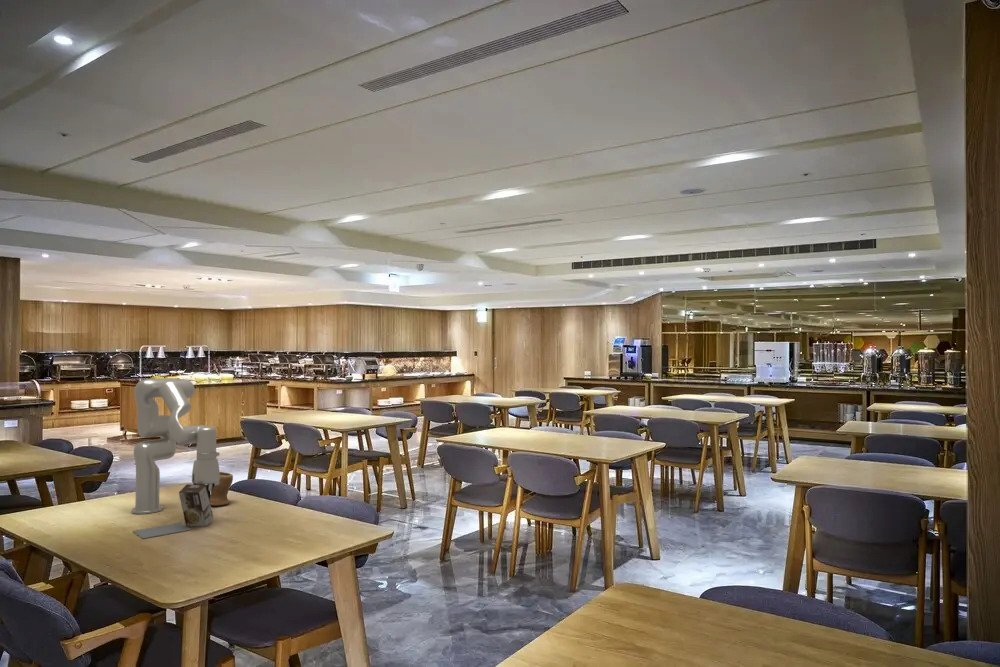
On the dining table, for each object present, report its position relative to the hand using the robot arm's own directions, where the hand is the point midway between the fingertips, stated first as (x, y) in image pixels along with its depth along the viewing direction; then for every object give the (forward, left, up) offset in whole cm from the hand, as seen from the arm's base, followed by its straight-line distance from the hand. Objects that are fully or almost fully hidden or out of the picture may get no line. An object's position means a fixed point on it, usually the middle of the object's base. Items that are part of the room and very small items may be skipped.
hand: (205, 500), depth 273 cm
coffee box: (0, -2, -9) cm, 9 cm away
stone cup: (-32, +17, -10) cm, 37 cm away
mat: (0, -17, -10) cm, 19 cm away
